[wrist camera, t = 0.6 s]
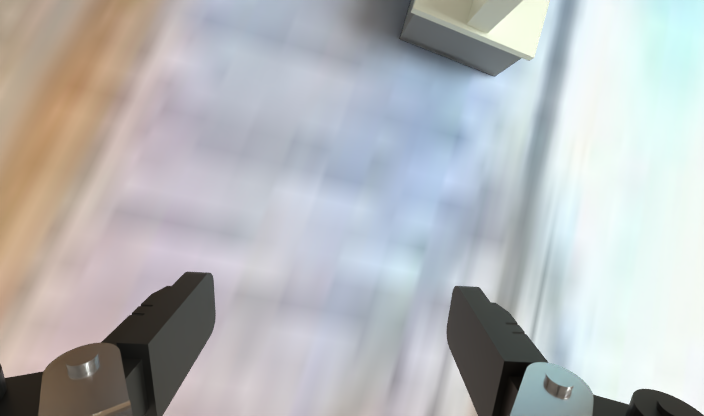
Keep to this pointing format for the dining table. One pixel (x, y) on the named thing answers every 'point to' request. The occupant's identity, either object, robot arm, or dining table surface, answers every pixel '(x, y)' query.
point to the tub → (455, 45)
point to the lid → (491, 21)
